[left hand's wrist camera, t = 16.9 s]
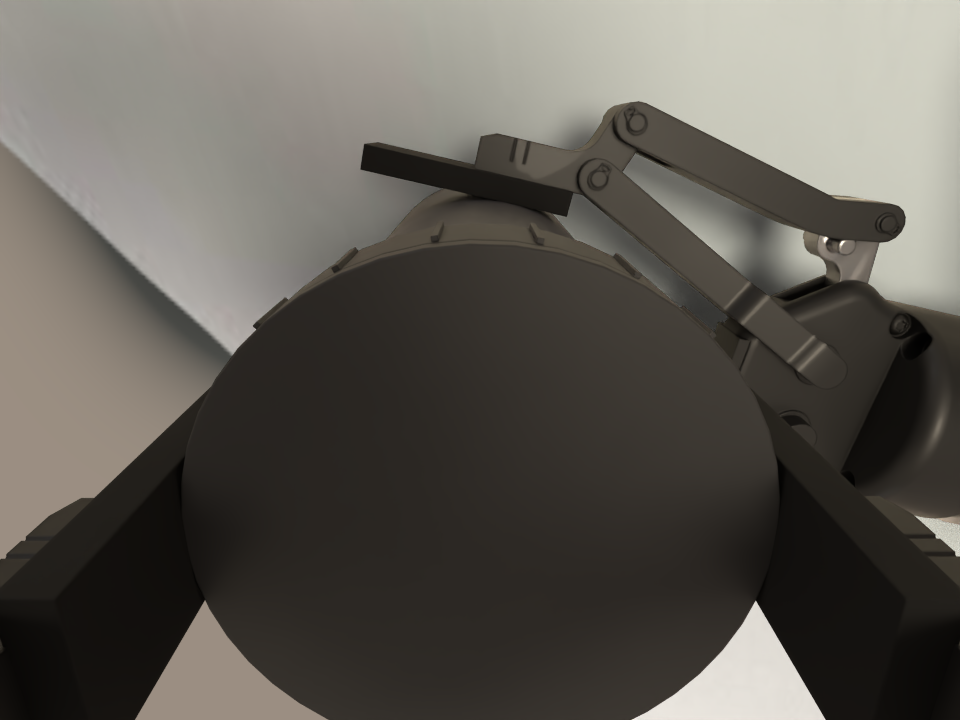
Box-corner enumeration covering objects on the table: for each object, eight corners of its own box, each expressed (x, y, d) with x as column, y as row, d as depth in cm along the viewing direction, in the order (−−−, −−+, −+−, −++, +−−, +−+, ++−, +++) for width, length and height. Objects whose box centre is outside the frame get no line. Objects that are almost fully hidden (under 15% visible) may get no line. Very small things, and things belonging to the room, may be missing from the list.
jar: (384, 176, 27) (207, 263, 9) (583, 185, 27) (773, 285, 9) (386, 363, 30) (253, 693, 12) (566, 370, 30) (686, 707, 12)
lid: (766, 610, 13) (815, 693, 11) (337, 709, 14) (314, 800, 12) (683, 145, 10) (731, 149, 8) (136, 313, 11) (62, 353, 9)
